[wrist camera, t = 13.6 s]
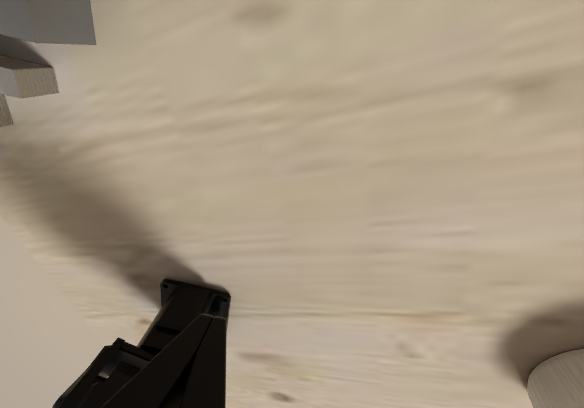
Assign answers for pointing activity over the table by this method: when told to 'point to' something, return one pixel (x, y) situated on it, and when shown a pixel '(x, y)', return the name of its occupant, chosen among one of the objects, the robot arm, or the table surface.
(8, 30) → the block
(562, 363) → the ramekin
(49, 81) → the rail
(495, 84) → the table surface
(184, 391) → the robot arm
